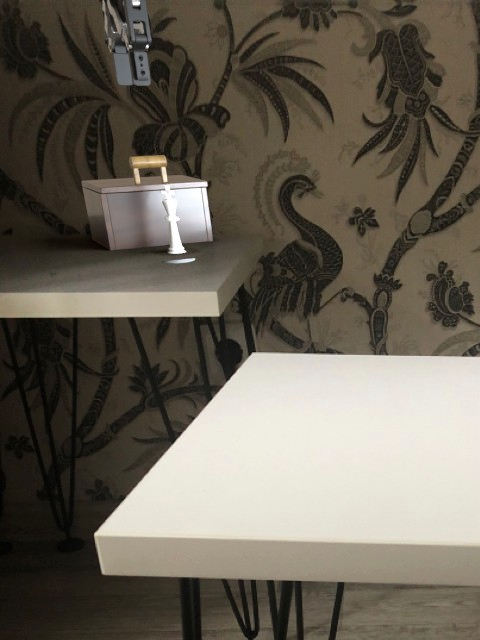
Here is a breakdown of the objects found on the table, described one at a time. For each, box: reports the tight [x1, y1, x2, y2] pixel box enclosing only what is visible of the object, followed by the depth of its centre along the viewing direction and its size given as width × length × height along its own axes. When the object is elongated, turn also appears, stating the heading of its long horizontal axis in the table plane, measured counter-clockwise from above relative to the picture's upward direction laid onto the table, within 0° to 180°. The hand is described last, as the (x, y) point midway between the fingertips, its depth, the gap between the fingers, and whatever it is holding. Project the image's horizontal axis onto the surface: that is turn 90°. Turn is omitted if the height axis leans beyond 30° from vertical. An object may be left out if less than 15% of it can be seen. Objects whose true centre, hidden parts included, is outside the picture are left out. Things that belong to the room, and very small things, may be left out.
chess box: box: [82, 186, 214, 251], centre depth 140 cm, size 12×16×9 cm
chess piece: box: [161, 185, 196, 264], centre depth 131 cm, size 5×5×10 cm
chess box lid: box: [81, 154, 209, 194], centre depth 137 cm, size 12×16×4 cm
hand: (133, 85), depth 121 cm, fingers open, 8 cm apart
